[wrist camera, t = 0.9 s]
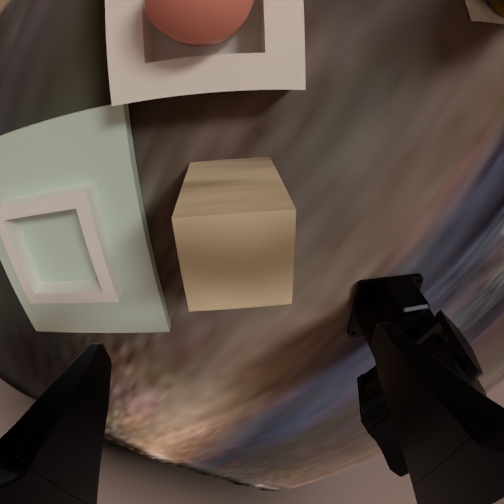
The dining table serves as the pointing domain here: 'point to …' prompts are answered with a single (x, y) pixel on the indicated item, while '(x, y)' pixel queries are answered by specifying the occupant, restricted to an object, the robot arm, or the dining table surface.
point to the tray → (78, 226)
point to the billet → (235, 235)
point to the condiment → (486, 10)
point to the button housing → (204, 54)
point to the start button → (199, 19)
